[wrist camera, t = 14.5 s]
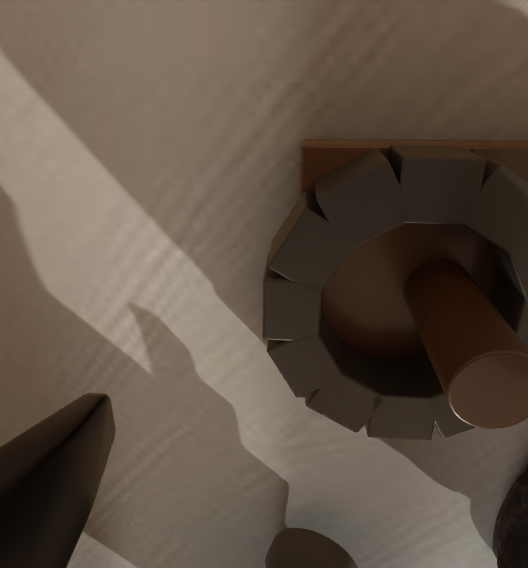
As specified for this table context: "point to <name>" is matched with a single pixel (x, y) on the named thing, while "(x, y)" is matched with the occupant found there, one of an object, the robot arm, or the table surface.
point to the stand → (429, 294)
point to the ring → (363, 227)
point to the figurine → (513, 528)
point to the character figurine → (306, 551)
